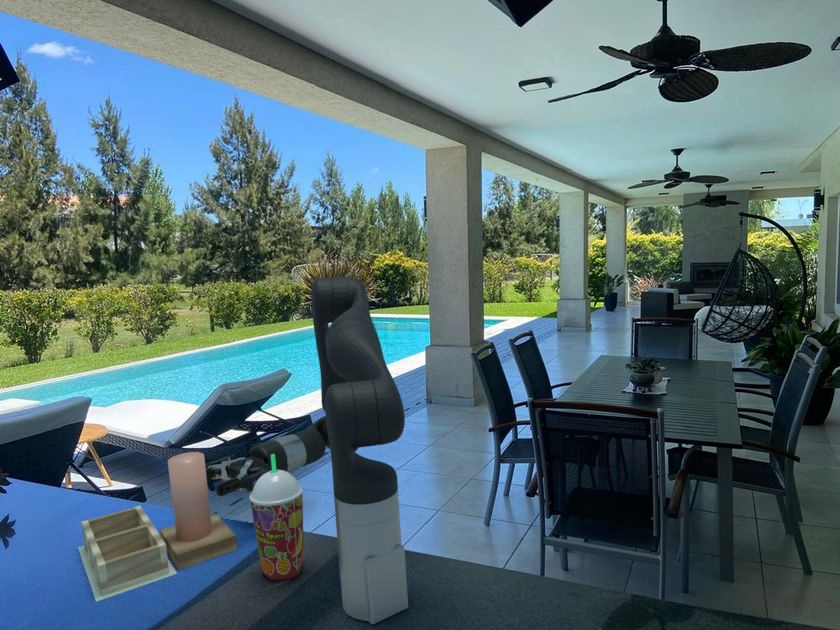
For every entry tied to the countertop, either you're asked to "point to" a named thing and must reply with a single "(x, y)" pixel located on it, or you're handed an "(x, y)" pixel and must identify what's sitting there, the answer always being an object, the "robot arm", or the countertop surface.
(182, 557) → the board
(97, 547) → the caddy
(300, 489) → the smoothie
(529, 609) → the countertop surface
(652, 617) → the countertop surface
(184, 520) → the pink cylinder
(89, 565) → the mat
